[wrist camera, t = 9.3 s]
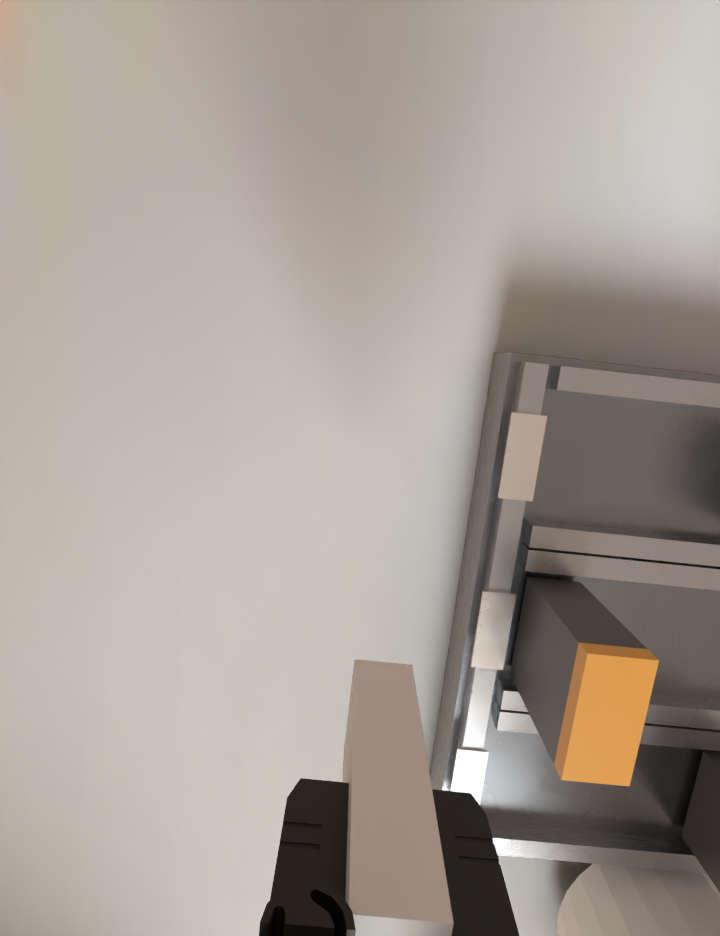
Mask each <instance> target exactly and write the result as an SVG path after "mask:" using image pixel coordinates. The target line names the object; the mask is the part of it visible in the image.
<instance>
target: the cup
mask: <svg viewBox="0 0 720 936" xmlns="http://www.w3.org/2000/svg"><path fill="white" fill-rule="evenodd" d="M557 930H558V934H559V936H720V892H719V891H718V889H717V888H716V886H715V885H714V883H713V882H712V880H711V879H710V877H709V876H708V875H707V873H695V872H684V871H672V870H661V869H649V868H638V867H626V866H615V865H603V864H592V865H591V866H589V867H588V868H587V869H586V870H585V871H584V872H582V873H581V874H580V875H579V876H578V877H577V879H576V880H575V881H574V882H573V884H572V885H571V886H570V887H569V889H568V890H567V891H566V894H565V896H564V899H563V901H562V904H561V906H560V909H559V915H558V922H557Z"/></svg>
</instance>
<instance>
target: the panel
mask: <svg viewBox="0 0 720 936" xmlns="http://www.w3.org/2000/svg"><path fill="white" fill-rule="evenodd" d="M527 577H534V578H544V579H554V580H564V581H574V582H581V583H582V584H583V585H584V586H585V587H586V588H587V589H588V590H589V591H590V592H591V593H592V594H593V595H594V596H595V597H596V598H597V599H598V600H599V601H600V602H601V603H602V604H603V605H604V606H605V607H606V608H607V609H608V610H609V611H610V612H611V613H612V614H613V615H614V616H615V617H616V618H617V619H618V620H619V621H620V622H621V623H622V624H623V625H624V626H625V627H626V628H627V629H628V630H629V631H630V632H631V633H632V634H633V635H634V636H635V637H636V638H637V639H638V640H639V641H640V642H641V643H642V644H643V645H644V646H645V647H646V648H647V649H648V650H649V651H650V652H651V653H652V654H653V655H654V656H655V657H656V658H657V659H658V660H659V663H658V667H657V672H656V676H655V680H654V685H653V689H652V693H651V697H650V702H649V706H648V710H647V714H646V719H645V723H644V727H643V731H642V736H641V740H640V744H639V749H638V753H637V757H636V761H635V766H634V770H633V774H632V778H631V783H630V786H620V785H609V784H598V783H587V782H576V781H565V780H561V778H560V776H559V774H558V772H557V770H556V768H555V766H554V764H553V762H552V760H551V758H550V756H549V754H548V752H547V750H546V747H545V745H544V743H543V741H542V739H541V737H540V735H539V733H538V731H537V729H536V727H535V725H534V723H533V721H532V719H531V717H530V715H529V713H528V710H527V708H526V706H525V704H524V702H523V700H522V698H521V696H520V694H519V692H518V690H517V688H516V686H515V684H514V682H513V680H512V678H511V676H510V671H511V665H512V660H513V654H514V648H515V643H516V637H517V631H518V626H519V620H520V614H521V609H522V603H523V598H524V592H525V586H526V581H527ZM703 751H712V752H720V375H711V374H702V373H693V372H684V371H675V370H666V369H657V368H649V367H640V366H631V365H622V364H613V363H604V362H595V361H586V360H577V359H568V358H559V357H550V356H541V355H532V354H523V353H514V352H506V353H494V356H493V363H492V369H491V376H490V382H489V389H488V395H487V402H486V408H485V415H484V422H483V428H482V435H481V441H480V448H479V454H478V461H477V468H476V474H475V481H474V487H473V494H472V500H471V507H470V513H469V520H468V527H467V533H466V540H465V546H464V553H463V559H462V566H461V573H460V579H459V586H458V592H457V599H456V605H455V612H454V618H453V625H452V632H451V638H450V645H449V651H448V658H447V664H446V671H445V678H444V684H443V691H442V697H441V704H440V710H439V717H438V723H437V730H436V737H435V743H434V750H433V756H432V763H431V769H430V780H431V786H432V789H434V790H445V791H455V792H466V793H471V794H472V795H473V797H474V798H475V799H476V801H477V802H478V804H479V805H480V806H481V808H482V809H483V810H484V812H485V813H486V815H487V818H488V822H489V826H490V829H491V833H492V837H493V844H495V848H496V852H497V855H500V856H512V857H523V858H535V859H546V860H558V861H569V862H581V863H592V864H603V865H615V866H626V867H638V868H649V869H661V870H672V871H684V872H695V873H706V872H705V870H704V869H703V867H702V866H701V864H700V863H699V861H698V860H697V858H696V857H695V855H694V854H693V852H692V851H691V850H690V848H689V847H688V845H687V844H686V842H685V841H684V839H683V838H682V836H681V835H682V831H683V827H684V823H685V819H686V815H687V812H688V808H689V804H690V800H691V796H692V792H693V789H694V785H695V781H696V777H697V773H698V769H699V765H700V762H701V758H702V754H703Z"/></svg>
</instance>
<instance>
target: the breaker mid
mask: <svg viewBox="0 0 720 936" xmlns="http://www.w3.org/2000/svg"><path fill="white" fill-rule="evenodd" d="M658 663H659V660H658V659H657V658H656V657H655V656H654V655H653V654H652V653H651V652H650V651H649V650H648V649H647V648H646V647H645V646H644V645H643V644H642V643H641V642H640V641H639V640H638V639H637V638H636V637H635V636H634V635H633V634H632V633H631V632H630V631H629V630H628V629H627V628H626V627H625V626H624V625H623V624H622V623H621V622H620V621H619V620H618V619H617V618H616V617H615V616H614V615H613V614H612V613H611V612H610V611H609V610H608V609H607V608H606V607H605V606H604V605H603V604H602V603H601V602H600V601H599V600H598V599H597V598H596V597H595V596H594V595H593V594H592V593H591V592H590V591H589V590H588V589H587V588H586V587H585V586H584V585H583V584H582V583H581V582H574V581H564V580H554V579H544V578H534V577H527V581H526V586H525V592H524V598H523V603H522V609H521V614H520V620H519V626H518V631H517V637H516V643H515V648H514V654H513V660H512V665H511V671H510V676H511V678H512V680H513V682H514V684H515V686H516V688H517V690H518V692H519V694H520V696H521V698H522V700H523V702H524V704H525V706H526V708H527V710H528V713H529V715H530V717H531V719H532V721H533V723H534V725H535V727H536V729H537V731H538V733H539V735H540V737H541V739H542V741H543V743H544V745H545V747H546V750H547V752H548V754H549V756H550V758H551V760H552V762H553V764H554V766H555V768H556V770H557V772H558V774H559V776H560V778H561V780H565V781H576V782H587V783H598V784H609V785H620V786H630V783H631V778H632V774H633V770H634V766H635V761H636V757H637V753H638V749H639V744H640V740H641V736H642V731H643V727H644V723H645V719H646V714H647V710H648V706H649V702H650V697H651V693H652V689H653V685H654V680H655V676H656V672H657V667H658Z"/></svg>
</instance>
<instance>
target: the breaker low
mask: <svg viewBox="0 0 720 936" xmlns="http://www.w3.org/2000/svg"><path fill="white" fill-rule="evenodd" d="M681 836H682V838H683V839H684V841H685V842H686V844H687V845H688V847H689V848H690V850H691V851H692V852H693V854H694V855H695V857H696V858H697V860H698V861H699V863H700V864H701V866H702V867H703V869H704V870H705V872H706V873H707V875H708V876H709V877H710V879H711V880H712V882H713V883H714V885H715V886H716V888H717V889H718V891H719V892H720V752H712V751H703V754H702V758H701V762H700V765H699V769H698V773H697V777H696V781H695V785H694V789H693V792H692V796H691V800H690V804H689V808H688V812H687V815H686V819H685V823H684V827H683V831H682V835H681Z"/></svg>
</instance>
